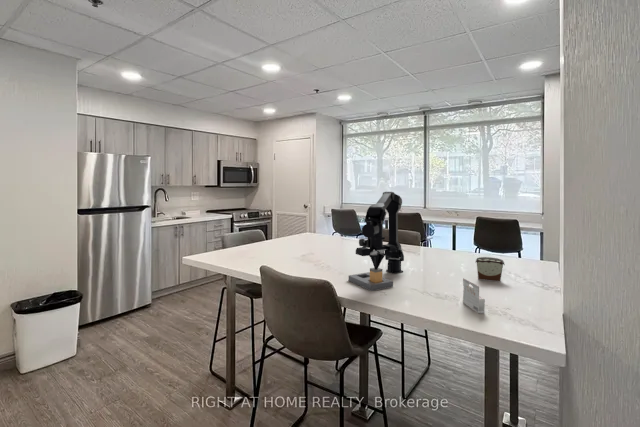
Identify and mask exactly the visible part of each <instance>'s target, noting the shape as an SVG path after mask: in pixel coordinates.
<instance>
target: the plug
mask: <svg viewBox="0 0 640 427" xmlns="http://www.w3.org/2000/svg"><path fill="white" fill-rule="evenodd" d="M369 272H370V281H371V282H373V283H379V282H382V277H383V268H380V267H378V269H375V268H374V267H371V268H369Z"/></svg>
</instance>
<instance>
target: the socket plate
mask: <svg viewBox="0 0 640 427" xmlns="http://www.w3.org/2000/svg"><path fill="white" fill-rule="evenodd" d="M348 281H349V282H351V283H352V284H355V285H357V286H359V287H361V288H363V289H366V290H368V291H370V292H373V291H378V290H383V289H388V288H389V289H390V288H393V287H394V281H393V280H391V279H389V278H386V277H383V276H382V282H379V283H373V282H371V281H370V271H368V272H362V273H356V274H350V275H348Z"/></svg>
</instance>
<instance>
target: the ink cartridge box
mask: <svg viewBox="0 0 640 427" xmlns="http://www.w3.org/2000/svg"><path fill="white" fill-rule="evenodd" d="M462 282H463V283H462V284H463V291H462V292H463V293H462V303H463V304H464V305H466V306H467V307H468V308H470V309H472V310H473V311H474V312H476V313H477V314H485V307H486V306H485V305H486V303H485V302H486V299H485V298H483V297H482V296H480V286H479V285H477V284H475V283H473V282H471V281H469V280H467V279H465V278H463V279H462ZM470 285H471V286H470Z"/></svg>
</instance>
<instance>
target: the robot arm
mask: <svg viewBox="0 0 640 427" xmlns="http://www.w3.org/2000/svg"><path fill="white" fill-rule="evenodd" d="M402 205H403V199H402V197H401V196H400V195H399V194H396V193H395V192H394V191H383V192H382V195H381V196H380V198H379V199H378V201H377V202H376V203H373V204H371V205H370V206H369V207H368V208H367V209H366V213H365V218H364V223H365V224H364V225H363V226H362V228H361V233H362V235H363V236H364V238H360V239H358V245H359V247H356V249H355V255H358V256H361V257H367V256H368V257H369V258H370V259H371V262H372V265H373V268H375V269H378V268H380V265H381V264H382V263H381V262H382V261H383V259H384V258H385V261H387V269H386V270H385V271H386V272H389V273H391V274H397V273H403V272H404V270H402V262H405V255H404V252H403V249H402V244H401V243H400V241H399V212H400V210H401V208H402ZM387 214H388V242H387V244H383V242H384V240H385V238H386V237H385V236H383V235H384V233H383V232H384V221H385V219H386V217H387V216H386V215H387ZM365 238H366V239H365Z"/></svg>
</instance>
